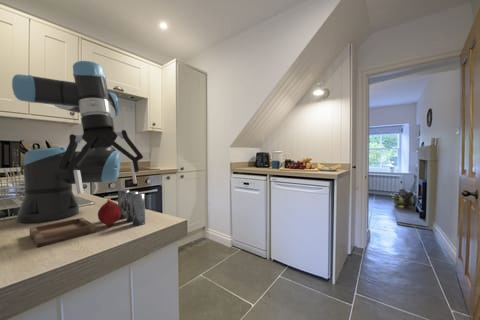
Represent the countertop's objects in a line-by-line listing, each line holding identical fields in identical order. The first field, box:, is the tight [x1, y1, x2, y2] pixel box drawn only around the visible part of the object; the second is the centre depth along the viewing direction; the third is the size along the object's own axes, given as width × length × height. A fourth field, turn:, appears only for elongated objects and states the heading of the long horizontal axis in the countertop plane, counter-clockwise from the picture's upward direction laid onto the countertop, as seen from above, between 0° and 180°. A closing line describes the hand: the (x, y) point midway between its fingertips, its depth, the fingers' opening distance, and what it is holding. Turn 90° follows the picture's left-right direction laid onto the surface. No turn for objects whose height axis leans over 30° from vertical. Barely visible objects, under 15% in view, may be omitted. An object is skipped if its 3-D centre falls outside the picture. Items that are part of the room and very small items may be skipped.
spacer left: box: [117, 189, 131, 220], centre depth 67 cm, size 3×3×9 cm
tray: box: [29, 217, 96, 248], centre depth 53 cm, size 11×11×2 cm
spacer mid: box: [126, 190, 139, 223], centre depth 64 cm, size 3×3×9 cm
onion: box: [97, 198, 122, 227], centre depth 59 cm, size 6×6×8 cm
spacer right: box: [132, 192, 146, 227], centre depth 61 cm, size 3×3×9 cm
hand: (109, 188), depth 58 cm, fingers open, 13 cm apart
